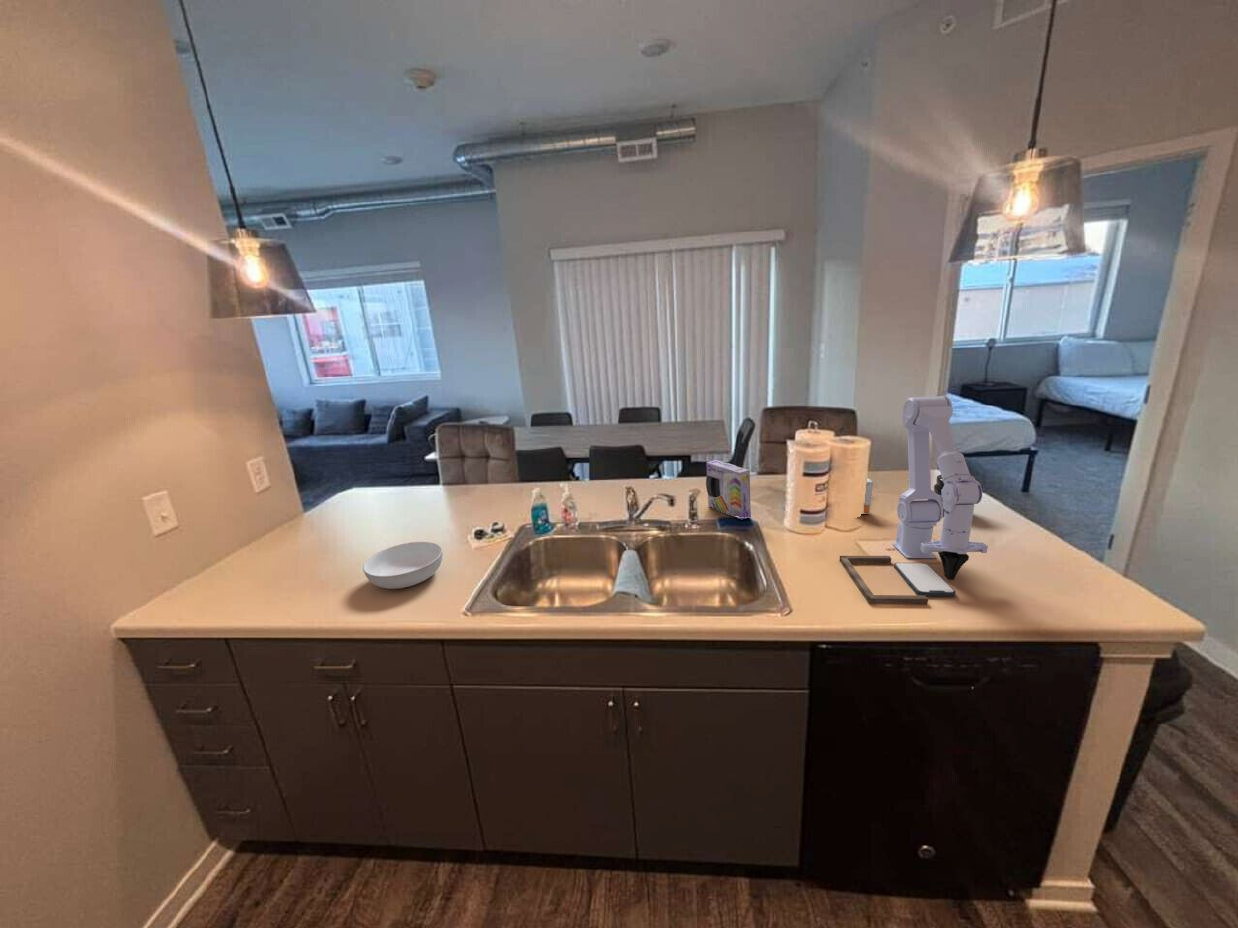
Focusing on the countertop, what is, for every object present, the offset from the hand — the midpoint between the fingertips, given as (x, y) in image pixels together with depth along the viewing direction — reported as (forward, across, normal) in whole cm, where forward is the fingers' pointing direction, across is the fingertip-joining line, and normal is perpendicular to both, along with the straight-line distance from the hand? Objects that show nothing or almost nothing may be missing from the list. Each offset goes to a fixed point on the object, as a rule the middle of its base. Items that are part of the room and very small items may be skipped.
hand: (949, 577), depth 125 cm
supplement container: (+1, +23, +46) cm, 51 cm away
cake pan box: (+1, -50, +48) cm, 69 cm away
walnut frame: (+1, -16, 0) cm, 16 cm away
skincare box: (+1, -6, +46) cm, 46 cm away
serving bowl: (+1, -145, +1) cm, 145 cm away
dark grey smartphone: (+2, -6, 0) cm, 6 cm away
